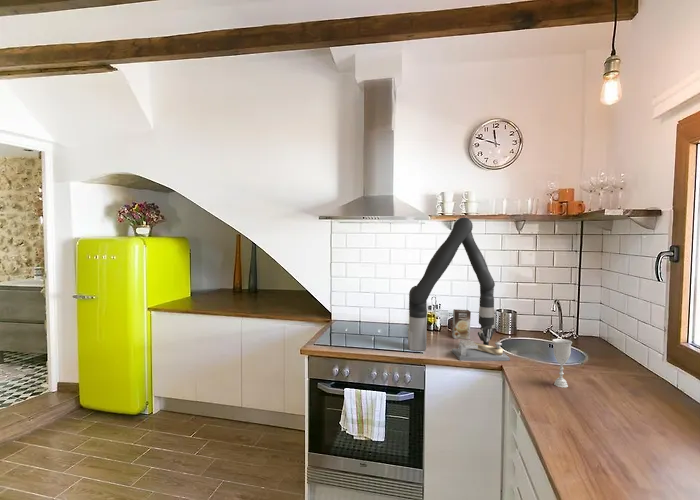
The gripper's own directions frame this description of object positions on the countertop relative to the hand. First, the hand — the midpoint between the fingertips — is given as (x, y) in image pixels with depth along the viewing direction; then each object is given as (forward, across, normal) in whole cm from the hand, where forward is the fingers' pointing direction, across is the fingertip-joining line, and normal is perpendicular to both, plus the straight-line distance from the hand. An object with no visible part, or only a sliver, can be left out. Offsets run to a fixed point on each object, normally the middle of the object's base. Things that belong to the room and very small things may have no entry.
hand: (485, 348), depth 200 cm
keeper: (+2, +15, -1) cm, 16 cm away
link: (0, +4, +2) cm, 4 cm away
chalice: (+2, +16, +42) cm, 45 cm away
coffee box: (+2, -15, -24) cm, 28 cm away
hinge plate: (+2, +8, +1) cm, 8 cm away
